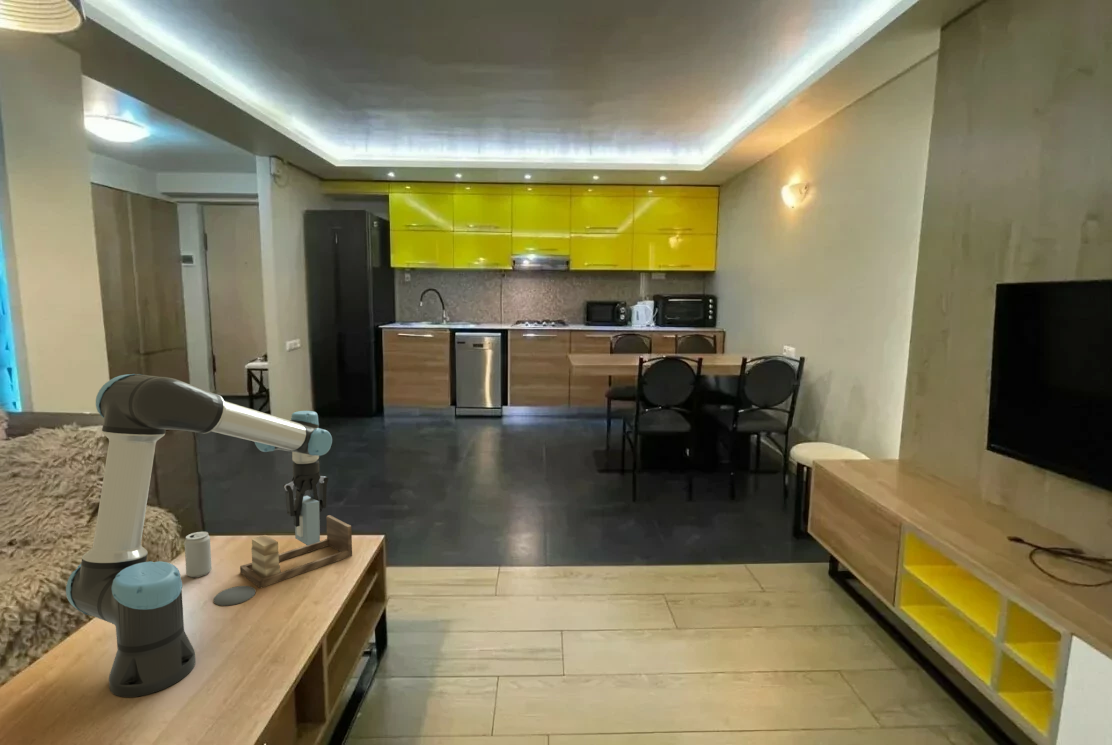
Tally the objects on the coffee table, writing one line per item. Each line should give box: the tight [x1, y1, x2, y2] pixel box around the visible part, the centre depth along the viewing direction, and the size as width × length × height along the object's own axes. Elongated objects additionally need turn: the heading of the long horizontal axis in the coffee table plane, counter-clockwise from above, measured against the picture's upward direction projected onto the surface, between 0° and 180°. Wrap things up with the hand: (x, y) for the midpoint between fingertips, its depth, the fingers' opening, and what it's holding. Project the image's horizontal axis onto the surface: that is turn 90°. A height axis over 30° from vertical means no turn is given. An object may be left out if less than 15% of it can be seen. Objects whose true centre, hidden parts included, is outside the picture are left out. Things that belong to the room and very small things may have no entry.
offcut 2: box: [251, 548, 280, 570], centre depth 163 cm, size 4×9×4 cm, turn 50°
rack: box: [239, 514, 353, 589], centre depth 171 cm, size 28×14×10 cm, turn 140°
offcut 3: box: [251, 560, 281, 579], centre depth 164 cm, size 4×10×4 cm, turn 49°
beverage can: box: [183, 531, 212, 578], centre depth 164 cm, size 6×6×12 cm
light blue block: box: [294, 495, 321, 546], centre depth 172 cm, size 4×8×13 cm, turn 50°
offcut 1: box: [251, 534, 279, 556], centre depth 163 cm, size 4×8×3 cm, turn 52°
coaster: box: [213, 585, 256, 607], centre depth 152 cm, size 10×10×1 cm
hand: (307, 533), depth 173 cm, fingers closed on light blue block, 4 cm apart
